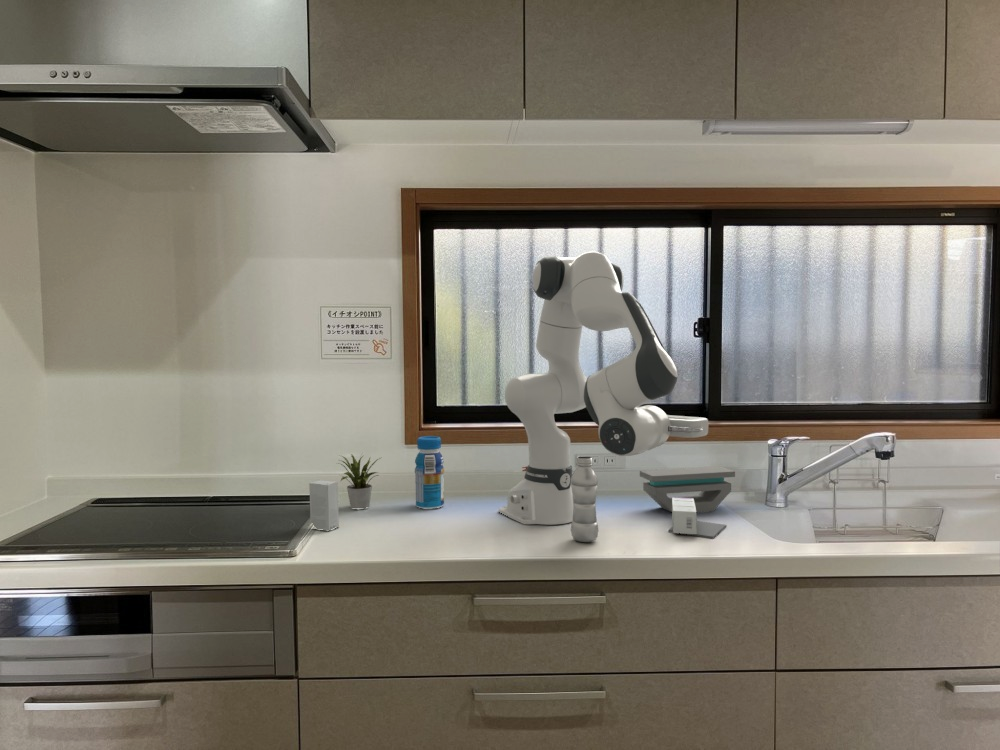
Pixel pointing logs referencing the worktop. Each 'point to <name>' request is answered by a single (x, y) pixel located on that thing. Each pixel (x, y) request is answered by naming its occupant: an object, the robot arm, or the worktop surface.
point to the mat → (706, 529)
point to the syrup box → (684, 516)
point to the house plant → (358, 483)
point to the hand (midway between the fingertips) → (669, 420)
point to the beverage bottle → (429, 473)
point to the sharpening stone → (688, 485)
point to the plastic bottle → (584, 501)
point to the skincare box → (324, 504)
